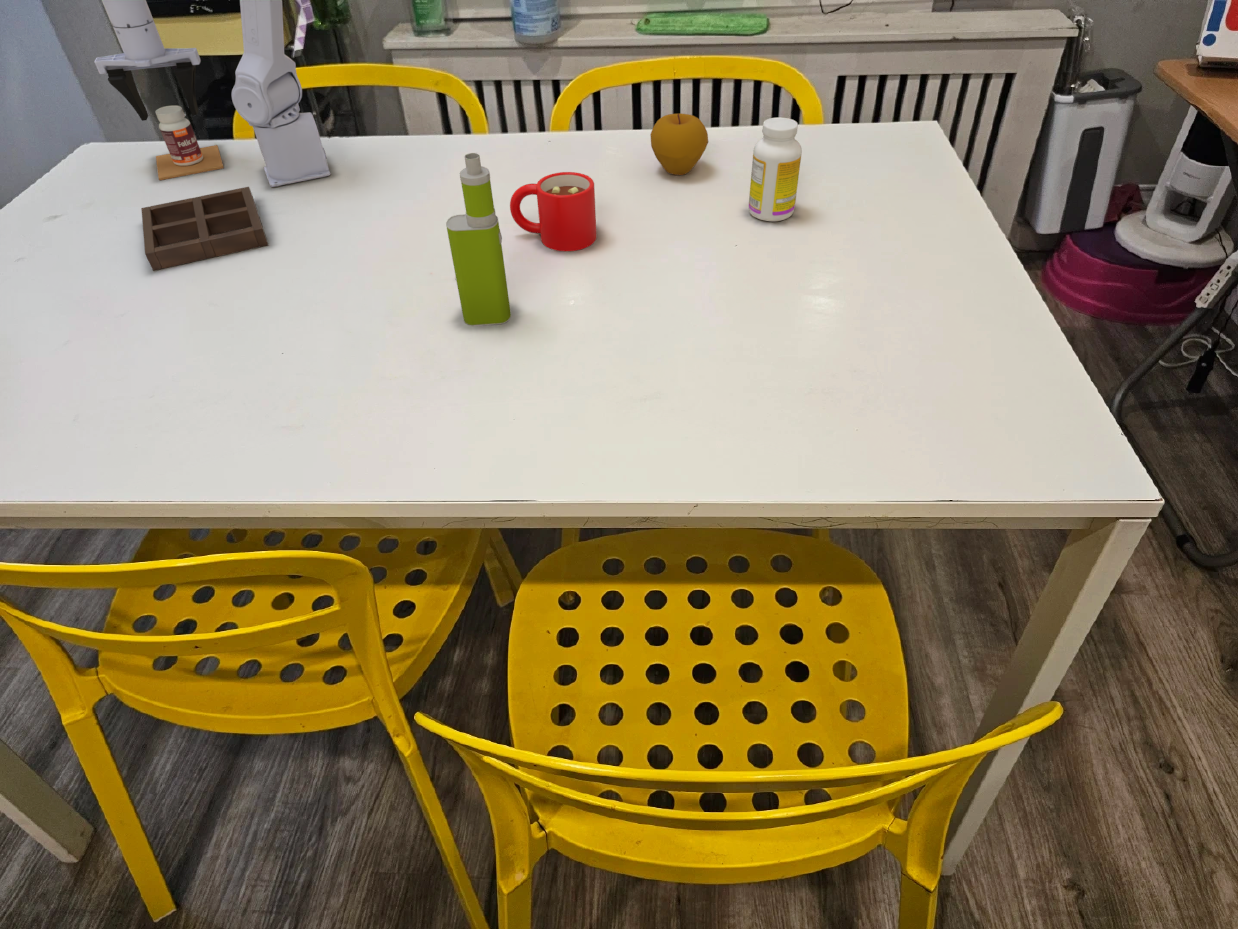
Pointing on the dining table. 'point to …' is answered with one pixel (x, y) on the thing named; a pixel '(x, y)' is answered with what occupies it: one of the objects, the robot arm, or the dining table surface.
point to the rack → (201, 228)
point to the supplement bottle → (775, 171)
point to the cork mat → (172, 170)
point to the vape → (478, 250)
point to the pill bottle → (178, 136)
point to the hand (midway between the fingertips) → (170, 115)
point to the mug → (560, 210)
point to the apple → (678, 142)
